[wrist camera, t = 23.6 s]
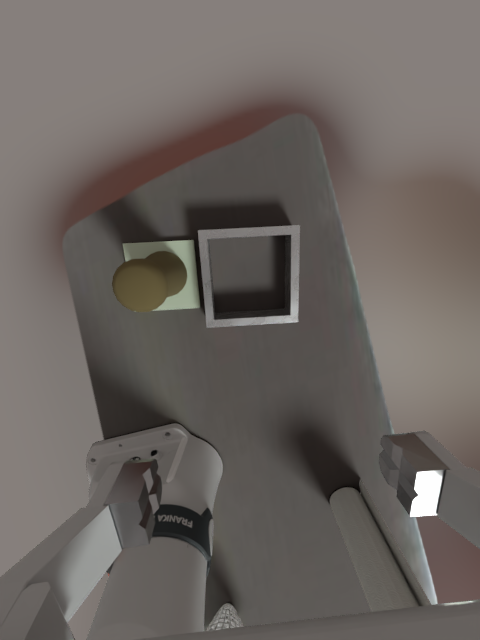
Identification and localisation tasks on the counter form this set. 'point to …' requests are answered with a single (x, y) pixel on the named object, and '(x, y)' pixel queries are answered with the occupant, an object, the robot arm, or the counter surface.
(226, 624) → the heart
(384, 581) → the paper towel roll
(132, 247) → the green pad
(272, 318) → the frame
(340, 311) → the counter surface
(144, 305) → the olive green rounded piece
